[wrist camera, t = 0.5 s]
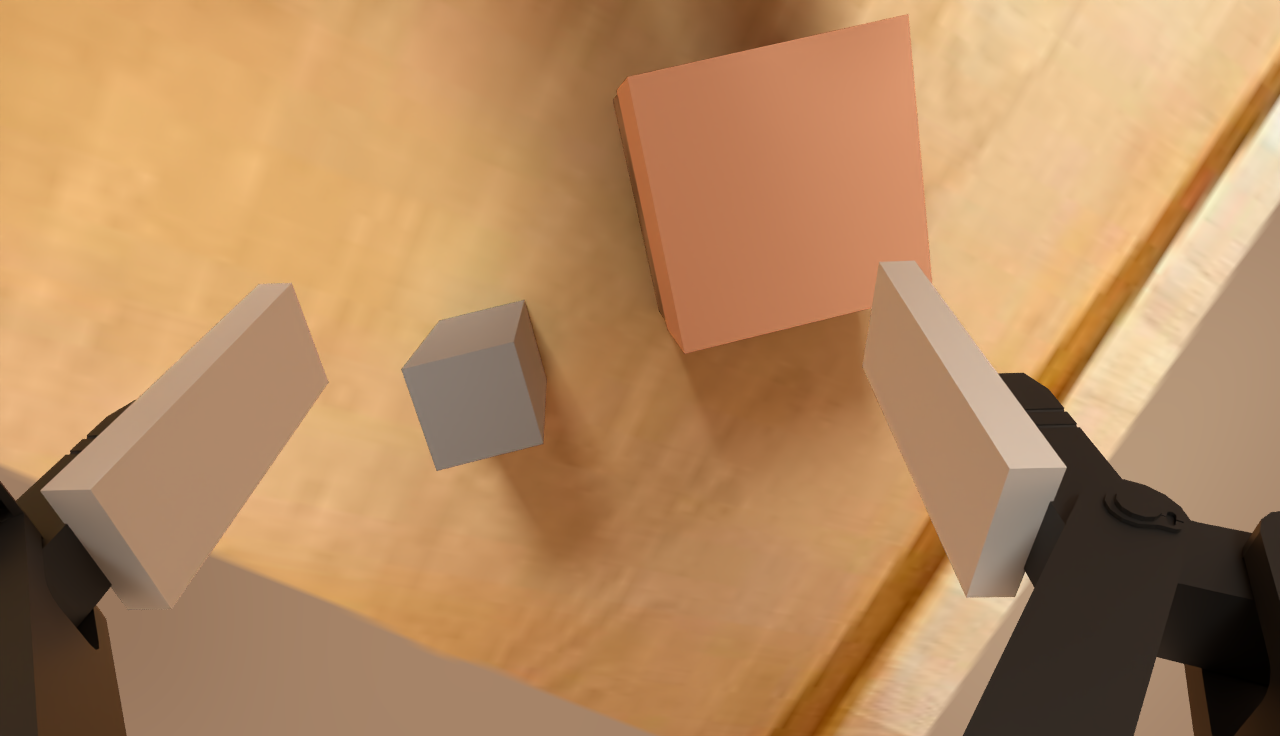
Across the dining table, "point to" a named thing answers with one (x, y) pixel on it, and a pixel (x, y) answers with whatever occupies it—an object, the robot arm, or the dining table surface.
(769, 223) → the tower top
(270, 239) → the dining table surface
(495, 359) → the grey block
